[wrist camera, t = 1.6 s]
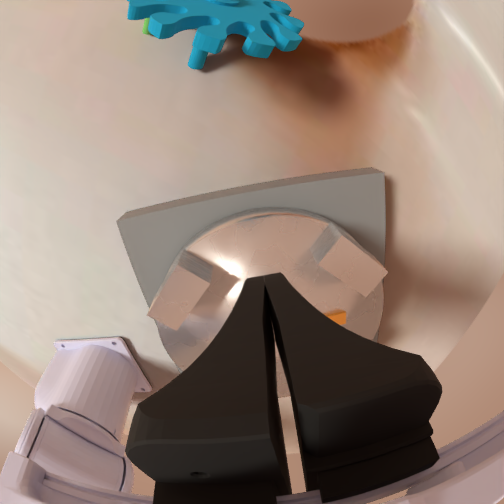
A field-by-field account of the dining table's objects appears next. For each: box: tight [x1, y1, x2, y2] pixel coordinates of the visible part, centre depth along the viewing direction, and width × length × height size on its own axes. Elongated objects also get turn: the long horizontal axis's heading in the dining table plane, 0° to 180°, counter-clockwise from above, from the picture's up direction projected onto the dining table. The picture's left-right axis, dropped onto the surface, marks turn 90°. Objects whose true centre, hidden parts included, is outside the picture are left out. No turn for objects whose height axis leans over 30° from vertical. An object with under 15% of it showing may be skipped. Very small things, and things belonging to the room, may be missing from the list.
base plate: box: [117, 167, 386, 374], centre depth 22 cm, size 18×18×2 cm
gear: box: [127, 0, 304, 69], centre depth 13 cm, size 11×6×10 cm
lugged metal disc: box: [147, 207, 388, 398], centre depth 19 cm, size 16×16×4 cm
